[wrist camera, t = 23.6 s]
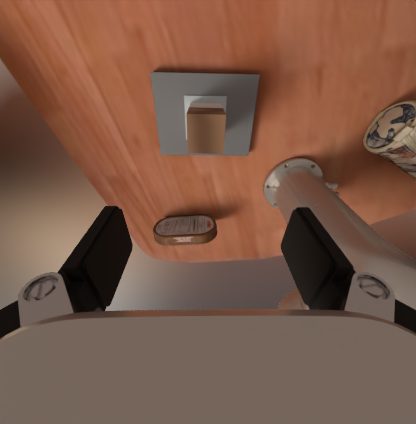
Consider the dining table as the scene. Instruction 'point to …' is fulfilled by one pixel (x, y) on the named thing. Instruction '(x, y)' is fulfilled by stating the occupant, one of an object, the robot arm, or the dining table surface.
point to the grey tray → (204, 93)
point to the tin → (185, 230)
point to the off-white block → (206, 105)
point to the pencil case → (395, 136)
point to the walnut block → (206, 130)
